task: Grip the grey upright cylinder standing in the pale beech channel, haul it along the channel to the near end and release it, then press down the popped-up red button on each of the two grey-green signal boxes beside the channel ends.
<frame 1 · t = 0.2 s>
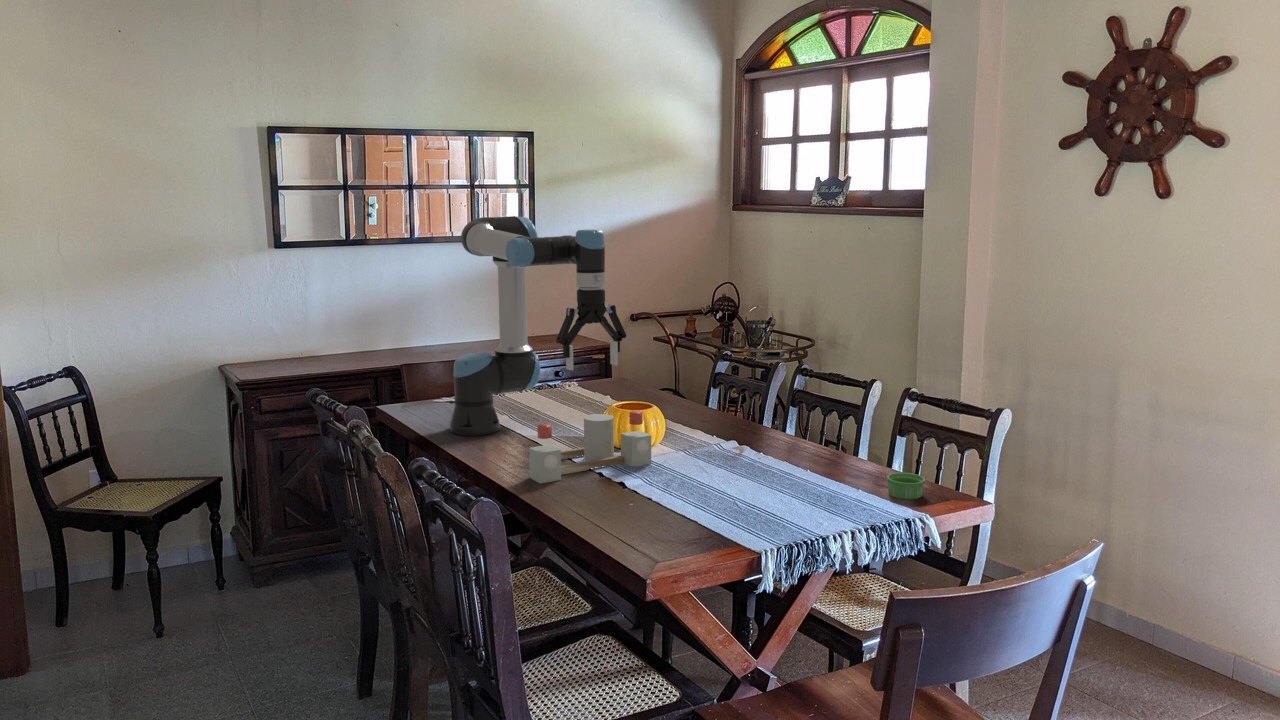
hand: (592, 367, 270), 26 cm above the table, fingers open, 13 cm apart
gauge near: (544, 431, 256), point 13 cm above the table, slide at 3.0 cm
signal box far: (636, 462, 273), on the table
grey upright cylinder: (599, 460, 276), on the table
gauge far: (635, 417, 271), point 13 cm above the table, slide at 3.0 cm
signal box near: (545, 478, 259), on the table
channel: (579, 463, 273), on the table
ramekin: (905, 495, 246), on the table
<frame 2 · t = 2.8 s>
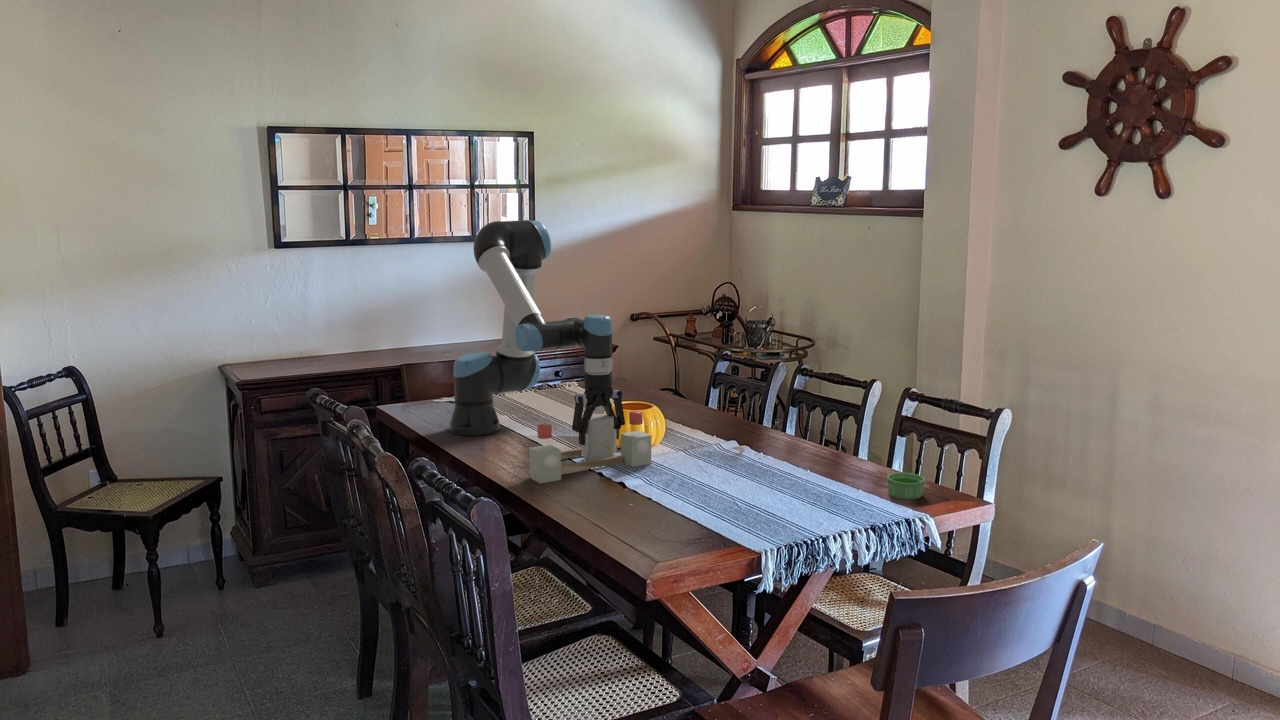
hand: (599, 453, 276), 2 cm above the table, fingers closed on grey upright cylinder, 8 cm apart
grey upright cylinder: (599, 460, 276), on the table, touching gripper
everything else where it was.
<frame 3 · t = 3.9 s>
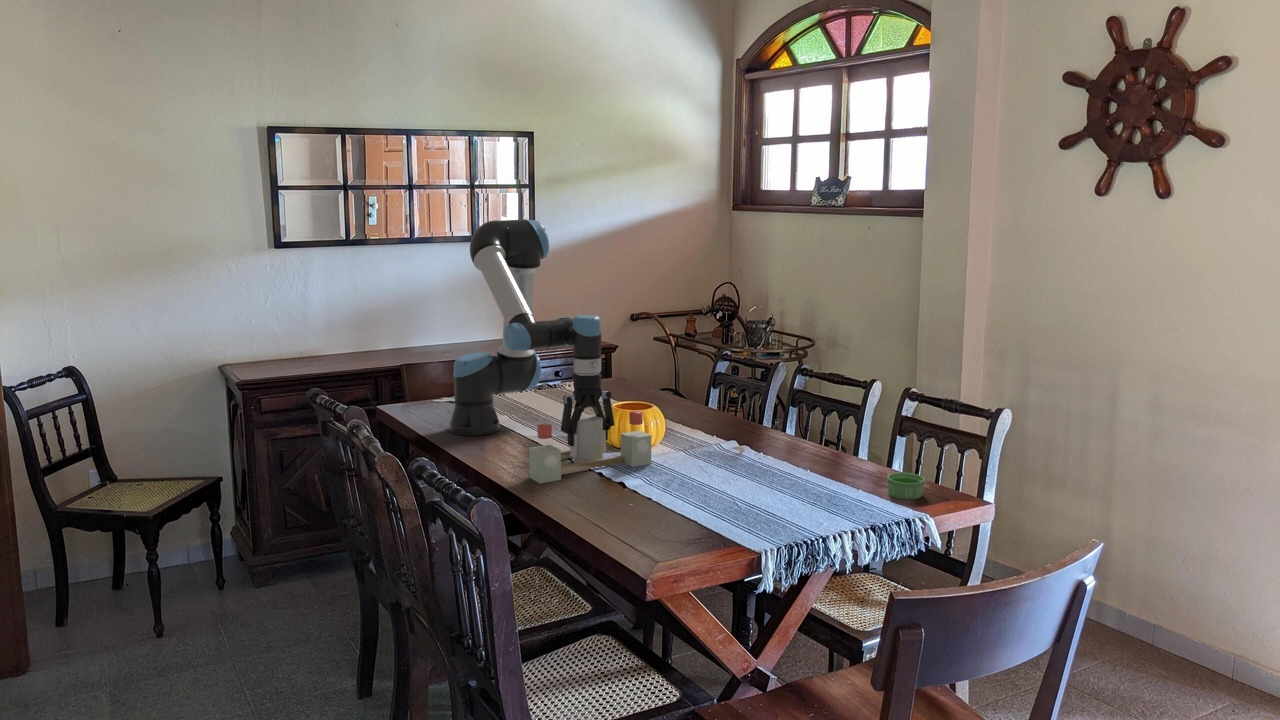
hand: (588, 454, 274), 2 cm above the table, fingers closed on grey upright cylinder, 8 cm apart
grey upright cylinder: (588, 461, 274), on the table, touching gripper
everything else where it was.
when the fingers open (3 cm above the table, at t = 5.4 s): grey upright cylinder stays where it is, on the table.
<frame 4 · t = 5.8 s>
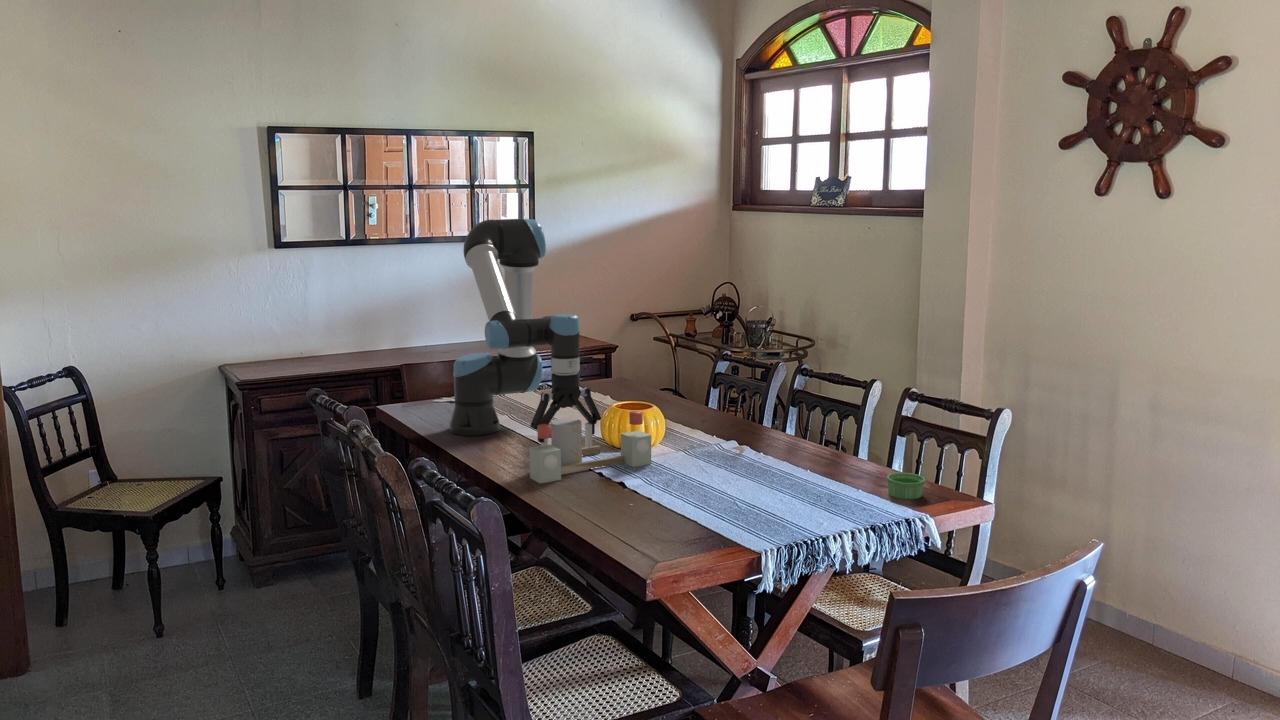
hand: (566, 450, 270), 4 cm above the table, fingers open, 13 cm apart
grey upright cylinder: (566, 465, 271), on the table
everything else where it was.
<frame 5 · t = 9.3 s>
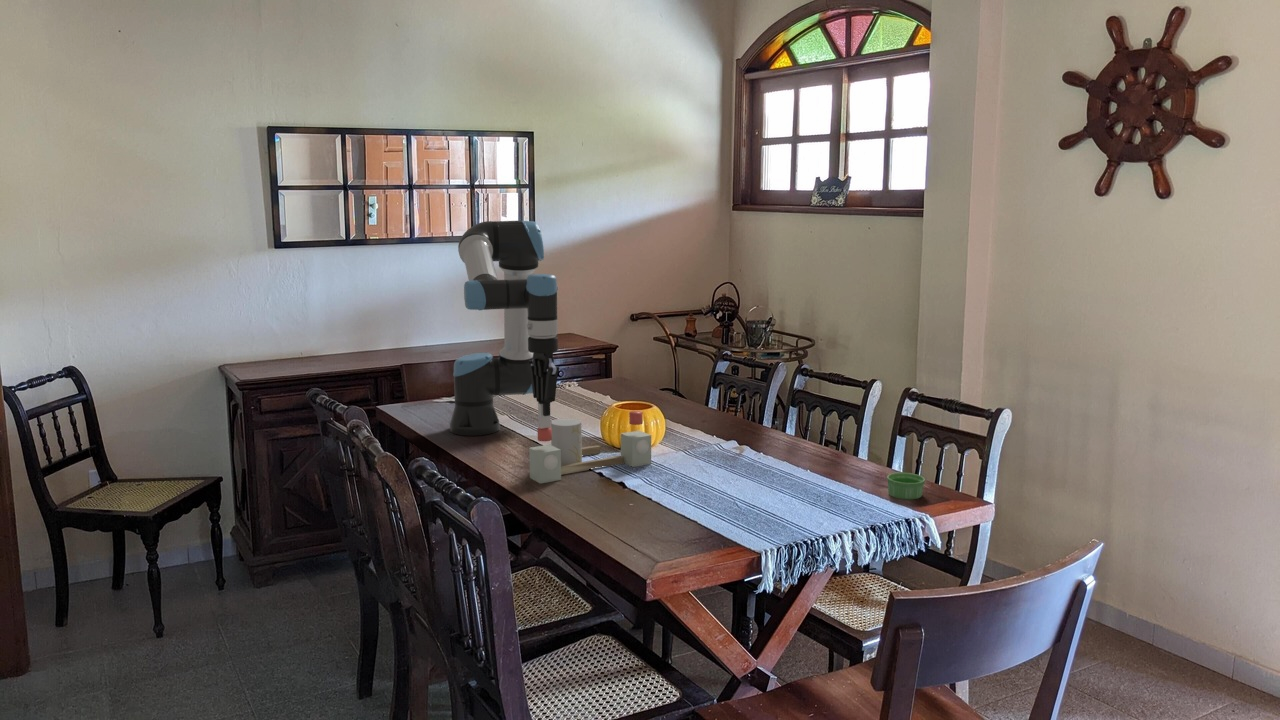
hand: (544, 427, 256), 14 cm above the table, fingers closed
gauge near: (544, 433, 256), point 12 cm above the table, slide at 2.3 cm, touching gripper
everything else where it was.
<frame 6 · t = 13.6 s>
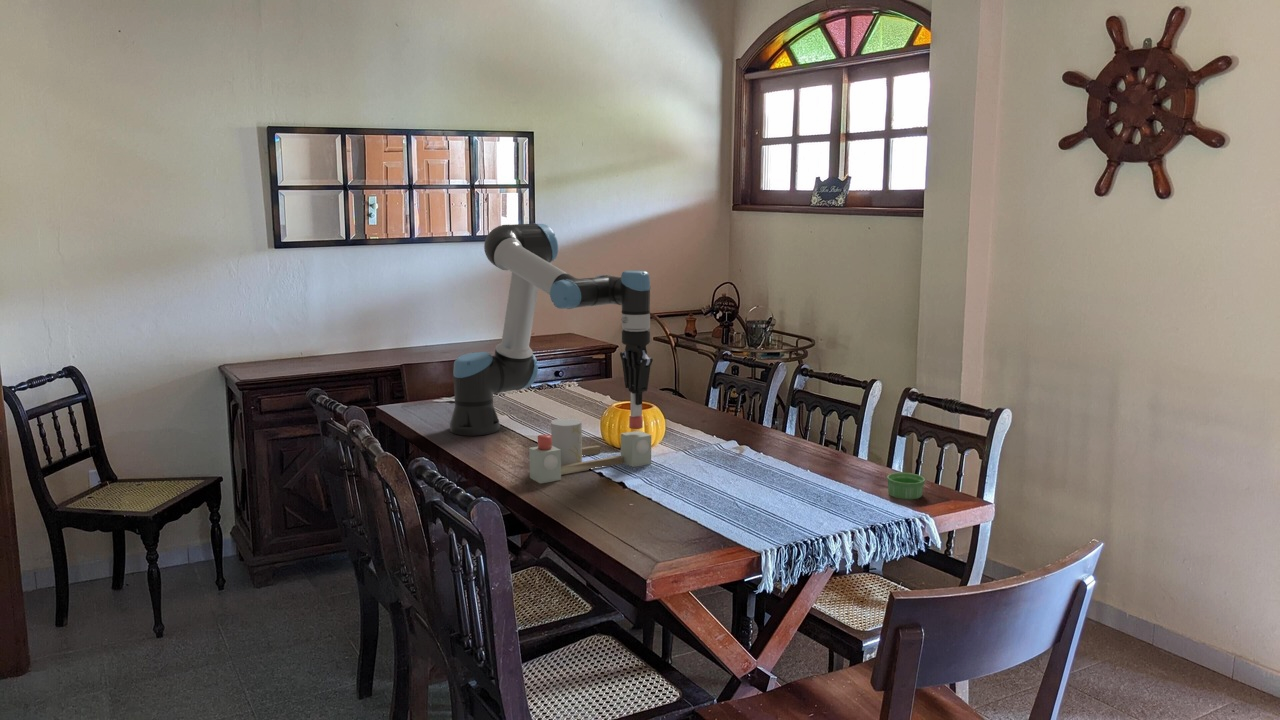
hand: (636, 415, 271), 13 cm above the table, fingers closed
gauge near: (544, 442, 257), point 10 cm above the table, slide at 0.2 cm
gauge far: (635, 421, 271), point 11 cm above the table, slide at 1.8 cm, touching gripper
everything else where it was.
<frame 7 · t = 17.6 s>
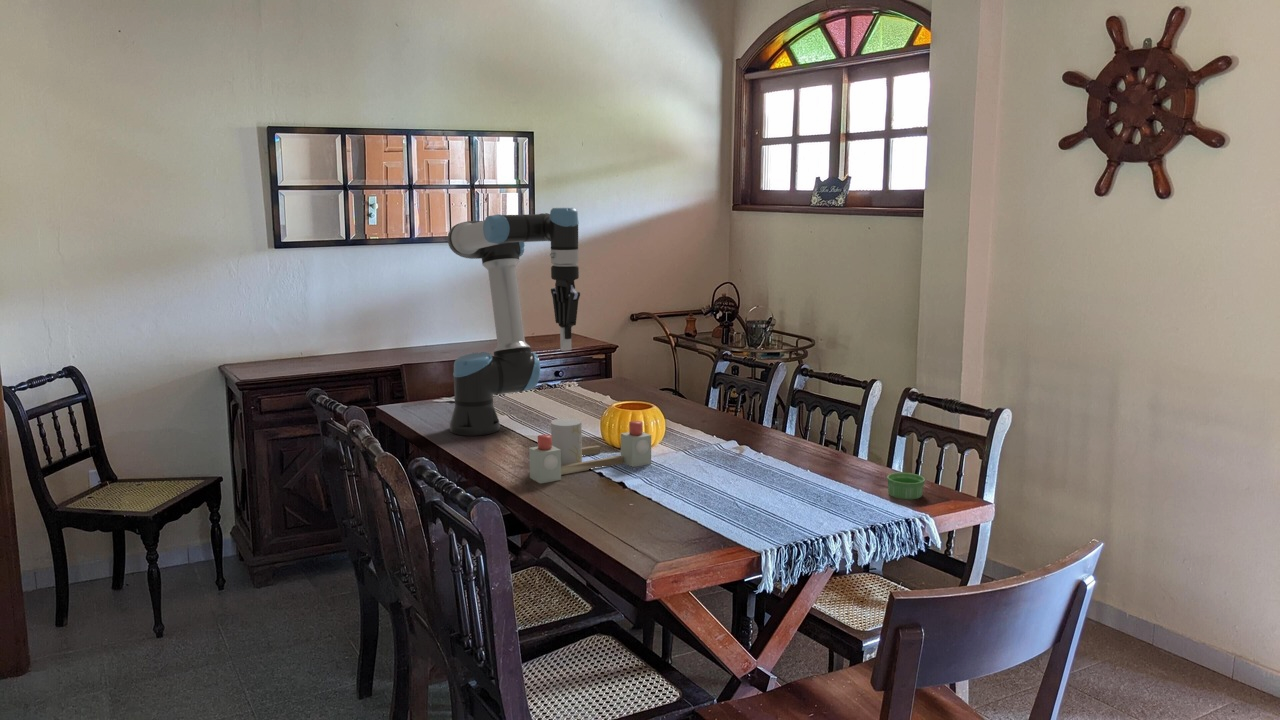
hand: (566, 350, 278), 29 cm above the table, fingers closed
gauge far: (635, 427, 271), point 10 cm above the table, slide at 0.2 cm
everything else where it was.
at the end: grey upright cylinder inside the target area (0.1 cm from its centre), on the table; grey upright cylinder tilted 0°; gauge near slide at 0.2 cm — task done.
